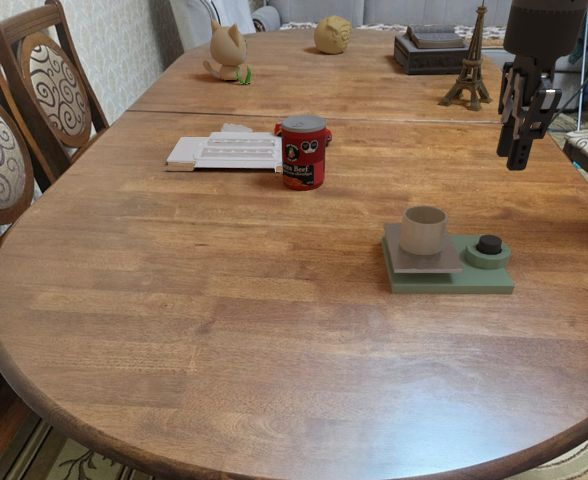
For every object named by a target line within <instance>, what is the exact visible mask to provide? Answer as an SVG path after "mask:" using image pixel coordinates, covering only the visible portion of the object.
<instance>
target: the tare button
mask: <svg viewBox="0 0 588 480" xmlns="http://www.w3.org/2000/svg"><path fill="white" fill-rule="evenodd" d="M482 235H483V236H481V237H480V239H479V243H478V247H477V250H478V251H479V252H480V253H482V254H486V255H497V254H499V252H500V248H501V244H502V243H503V240H502V238H501V237H500V236H497V235H495V234H482Z"/></svg>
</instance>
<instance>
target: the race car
mask: <svg viewBox="0 0 588 480" xmlns="http://www.w3.org/2000/svg"><path fill="white" fill-rule="evenodd" d="M282 120H283V119H280V120H279V121H277V122H276V123H275V124H274V125H275V126H274V129H273V131H274V132H273V133H275V135H276V136H278V137H281V124H282ZM332 141H333V134H332V132H331V130H330V129H329V128H326V144H329V143H331V142H332Z"/></svg>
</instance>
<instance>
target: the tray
mask: <svg viewBox="0 0 588 480" xmlns="http://www.w3.org/2000/svg"><path fill="white" fill-rule="evenodd" d="M167 162H179V163H193V164H195V166H194V168H195V169H196V168H230V169H231V168H232V169H233V168H234V169H237V168H238V169H239V168H240V169H243V168H244V169H274V172H275V173H276V167H277V166H282V142H281V137H278V136H276V135H275V133H274V132H267V131H266V132H265V131H264V132H263V131H262V132H256V131H255V132H254V131H253V128H252V127H248V126H246V125H243V124H235V123H233V122H231V123H228V122H225V123H223V125H222V126H221V127H220V130H218V131H211V132H210V135H209V137H185V136H181V137H180V138H179V140H178V141H177V143H176V144H175V146H174V148H172V151H171V153H170V154H169V156H168V157H167V159H166V163H167Z"/></svg>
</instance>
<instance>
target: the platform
mask: <svg viewBox="0 0 588 480" xmlns="http://www.w3.org/2000/svg"><path fill="white" fill-rule="evenodd" d="M382 226H383V232H384V235H385V236H386V241H387V245H388V249H389V254H390V258H391V263H392V267H393V271H394V273H463V270H464V269H463V267H462V264H461V262H460V260H459V257H458V255H457V252H456V250H455V248H454V245H453V243H452V240H451V238H450V236H449V235H450V233H449V231H448V228H447V229H446V235H445V240H444V244H443V248H442V250H441V251H440V252H438V253H436V254H433V255H415V254H411V253H409V252H406V251H405V250H403V249H402V248H401V247H400V245H399V236H400V229H401V222H384V223H383V225H382Z"/></svg>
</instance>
